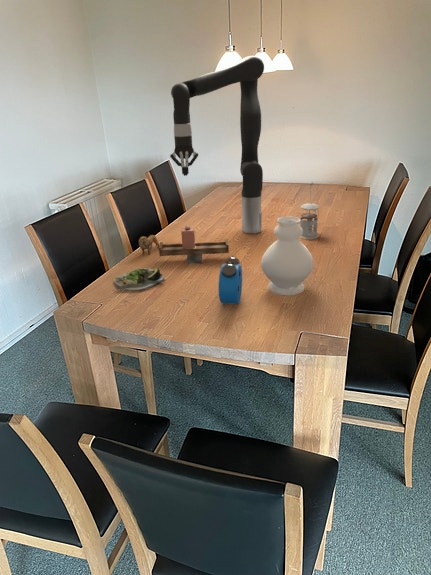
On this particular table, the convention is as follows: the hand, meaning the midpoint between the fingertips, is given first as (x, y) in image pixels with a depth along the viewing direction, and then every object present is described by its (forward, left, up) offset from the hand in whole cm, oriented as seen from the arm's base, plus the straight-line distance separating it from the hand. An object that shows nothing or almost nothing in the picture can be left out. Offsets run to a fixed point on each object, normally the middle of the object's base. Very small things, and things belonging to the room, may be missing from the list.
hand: (185, 175), depth 195 cm
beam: (-3, +30, -29) cm, 42 cm away
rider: (-1, +30, -23) cm, 38 cm away
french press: (-56, +5, -29) cm, 63 cm away
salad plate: (+17, +48, -30) cm, 59 cm away
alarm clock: (-16, +68, -29) cm, 76 cm away
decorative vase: (-36, +59, -29) cm, 75 cm away
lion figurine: (+17, +18, -29) cm, 38 cm away
